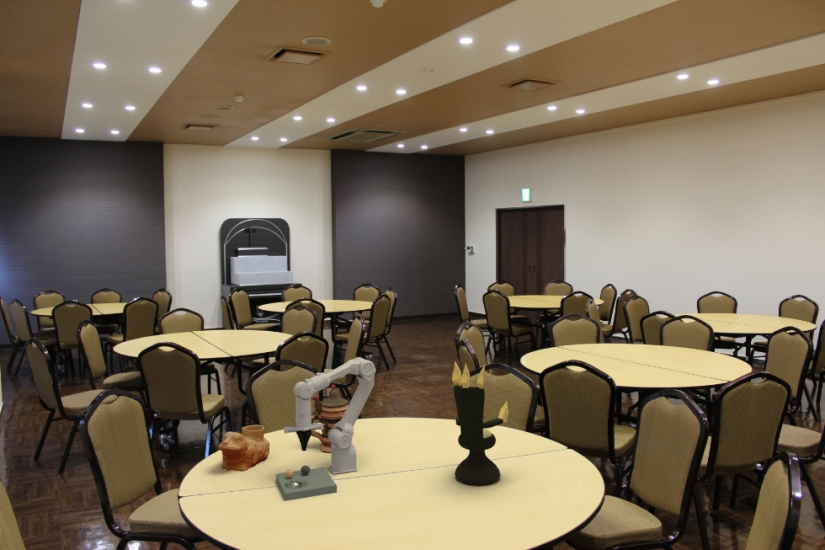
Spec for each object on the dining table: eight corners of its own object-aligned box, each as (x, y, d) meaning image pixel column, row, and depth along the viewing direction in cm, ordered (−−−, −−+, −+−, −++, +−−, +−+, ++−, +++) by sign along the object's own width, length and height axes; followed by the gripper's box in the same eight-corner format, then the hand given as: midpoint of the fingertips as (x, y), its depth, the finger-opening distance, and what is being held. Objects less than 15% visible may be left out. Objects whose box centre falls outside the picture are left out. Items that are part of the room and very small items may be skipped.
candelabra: (510, 473, 245) (508, 354, 242) (492, 494, 225) (490, 365, 222) (463, 466, 253) (461, 351, 250) (441, 487, 233) (438, 362, 230)
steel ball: (294, 491, 234) (296, 482, 235) (299, 492, 232) (302, 483, 233) (287, 489, 232) (290, 480, 233) (293, 491, 229) (296, 481, 231)
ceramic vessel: (209, 472, 253) (207, 434, 252) (249, 451, 277) (248, 416, 276) (238, 477, 248) (237, 438, 247) (277, 454, 272) (276, 419, 271)
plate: (323, 473, 249) (323, 467, 249) (336, 492, 230) (336, 485, 230) (276, 480, 242) (276, 474, 242) (285, 500, 224) (285, 493, 224)
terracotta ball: (293, 475, 240) (292, 467, 240) (294, 478, 237) (294, 470, 237) (284, 477, 239) (284, 469, 239) (286, 480, 236) (286, 471, 236)
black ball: (309, 472, 243) (308, 463, 243) (311, 475, 240) (310, 466, 240) (300, 473, 242) (299, 464, 242) (301, 476, 239) (301, 467, 239)
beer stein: (359, 451, 281) (328, 440, 292) (367, 387, 281) (336, 378, 291) (333, 458, 268) (302, 446, 278) (341, 390, 267) (309, 381, 278)
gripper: (286, 418, 238) (286, 455, 238) (325, 415, 243) (325, 451, 243) (282, 414, 244) (283, 450, 245) (320, 410, 249) (321, 445, 250)
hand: (303, 450), depth 245 cm, fingers closed
